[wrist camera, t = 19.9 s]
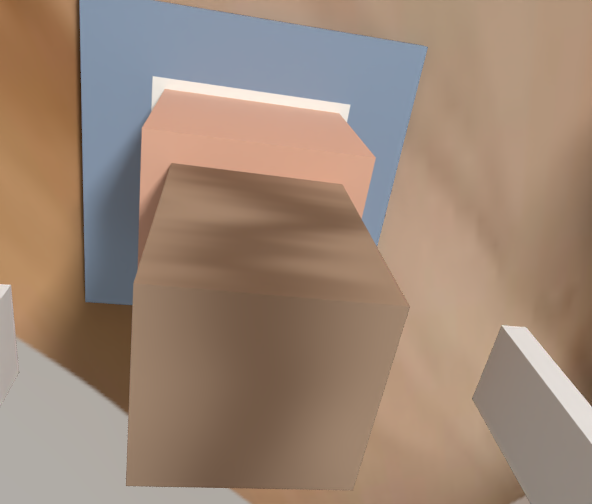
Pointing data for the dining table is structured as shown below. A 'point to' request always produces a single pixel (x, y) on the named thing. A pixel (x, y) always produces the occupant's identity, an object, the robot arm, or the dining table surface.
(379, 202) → the board
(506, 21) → the dining table surface
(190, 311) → the walnut column
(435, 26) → the dining table surface
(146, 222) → the terracotta base
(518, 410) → the robot arm
